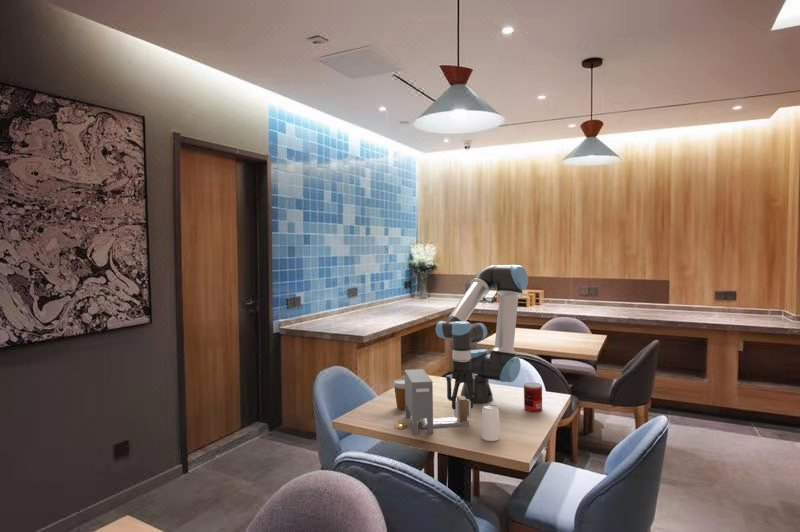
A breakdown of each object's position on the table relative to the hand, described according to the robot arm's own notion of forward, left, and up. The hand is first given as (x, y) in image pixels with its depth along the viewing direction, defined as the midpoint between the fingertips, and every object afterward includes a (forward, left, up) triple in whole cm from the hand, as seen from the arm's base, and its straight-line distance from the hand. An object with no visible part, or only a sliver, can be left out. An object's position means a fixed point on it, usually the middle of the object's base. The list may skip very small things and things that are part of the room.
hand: (462, 416), depth 197 cm
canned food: (-35, -12, -3) cm, 37 cm away
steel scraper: (+8, -1, -3) cm, 8 cm away
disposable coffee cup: (+21, -24, -3) cm, 32 cm away
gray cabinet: (+18, -1, -3) cm, 18 cm away
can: (-6, +18, -3) cm, 19 cm away
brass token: (+26, 0, -3) cm, 26 cm away
